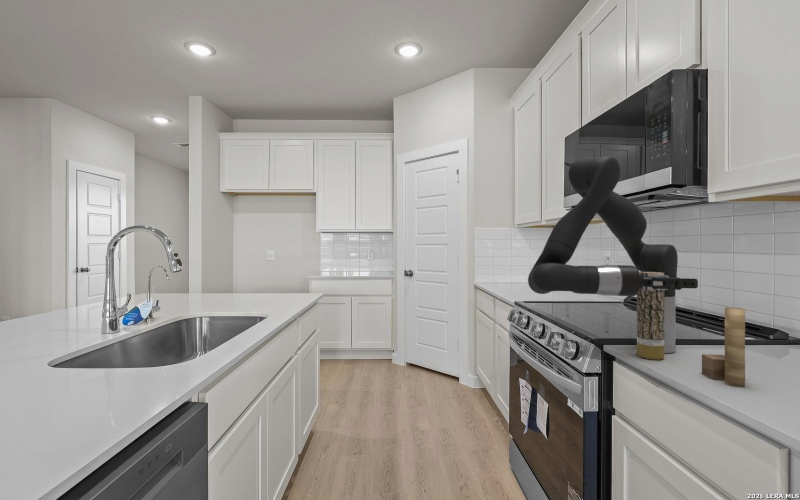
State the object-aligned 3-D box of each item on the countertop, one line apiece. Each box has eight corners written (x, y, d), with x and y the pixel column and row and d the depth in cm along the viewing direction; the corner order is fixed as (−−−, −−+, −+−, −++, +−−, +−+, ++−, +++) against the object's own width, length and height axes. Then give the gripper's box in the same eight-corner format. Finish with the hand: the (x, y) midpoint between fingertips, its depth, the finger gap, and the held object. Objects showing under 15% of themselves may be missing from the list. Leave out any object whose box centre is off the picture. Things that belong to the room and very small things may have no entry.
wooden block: (712, 379, 94) (712, 359, 94) (701, 373, 98) (701, 354, 98) (745, 380, 93) (745, 360, 93) (732, 374, 97) (732, 355, 97)
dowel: (721, 381, 93) (721, 307, 92) (737, 381, 92) (738, 307, 92) (731, 386, 89) (731, 309, 89) (748, 387, 88) (749, 310, 88)
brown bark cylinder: (668, 361, 109) (668, 273, 108) (642, 359, 110) (642, 273, 110) (657, 354, 115) (657, 271, 115) (633, 353, 117) (632, 271, 116)
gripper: (627, 266, 87) (705, 267, 85) (602, 264, 101) (669, 265, 99) (626, 299, 87) (704, 301, 85) (602, 292, 101) (669, 294, 99)
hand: (685, 281), depth 92 cm, fingers open, 8 cm apart
